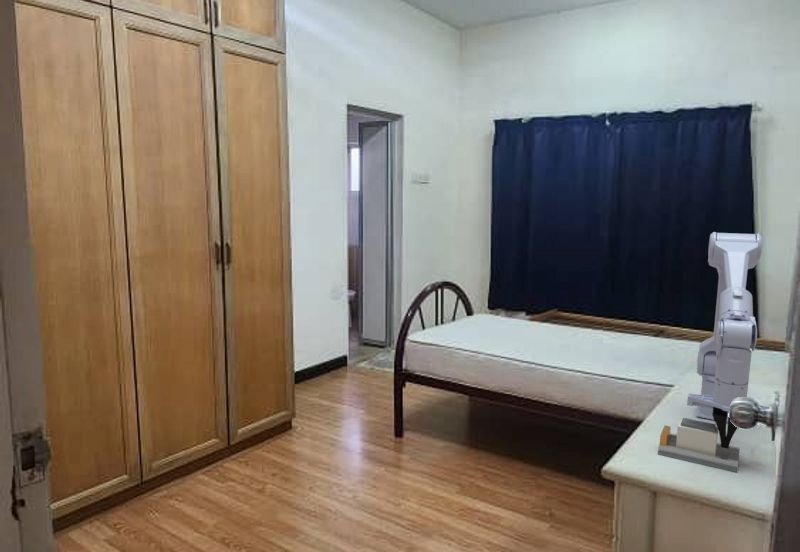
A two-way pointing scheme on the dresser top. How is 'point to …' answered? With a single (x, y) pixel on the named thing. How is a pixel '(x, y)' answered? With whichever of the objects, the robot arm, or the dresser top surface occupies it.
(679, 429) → the block
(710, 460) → the rail plate
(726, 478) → the dresser top surface
